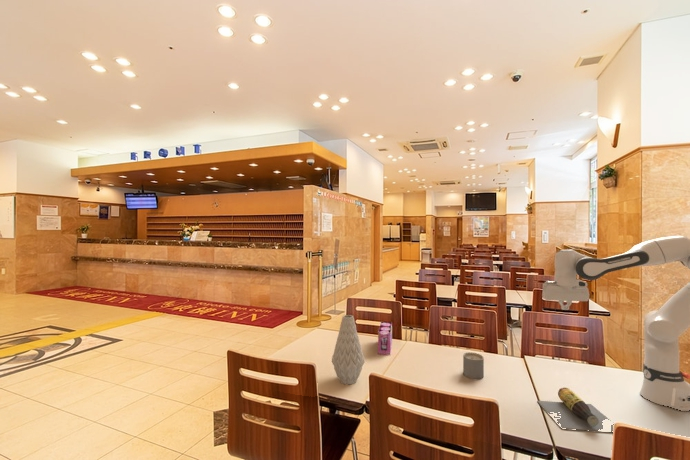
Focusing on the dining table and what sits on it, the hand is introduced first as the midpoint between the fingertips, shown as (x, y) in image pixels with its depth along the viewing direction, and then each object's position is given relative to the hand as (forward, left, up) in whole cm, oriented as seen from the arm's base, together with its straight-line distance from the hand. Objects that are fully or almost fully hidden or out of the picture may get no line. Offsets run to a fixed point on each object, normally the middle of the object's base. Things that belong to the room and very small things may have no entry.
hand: (565, 309), depth 154 cm
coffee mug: (+42, -6, -37) cm, 57 cm away
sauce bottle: (+10, +17, -34) cm, 39 cm away
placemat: (+11, +28, -37) cm, 48 cm away
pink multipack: (+89, -37, -37) cm, 103 cm away
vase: (+108, +9, -37) cm, 115 cm away
